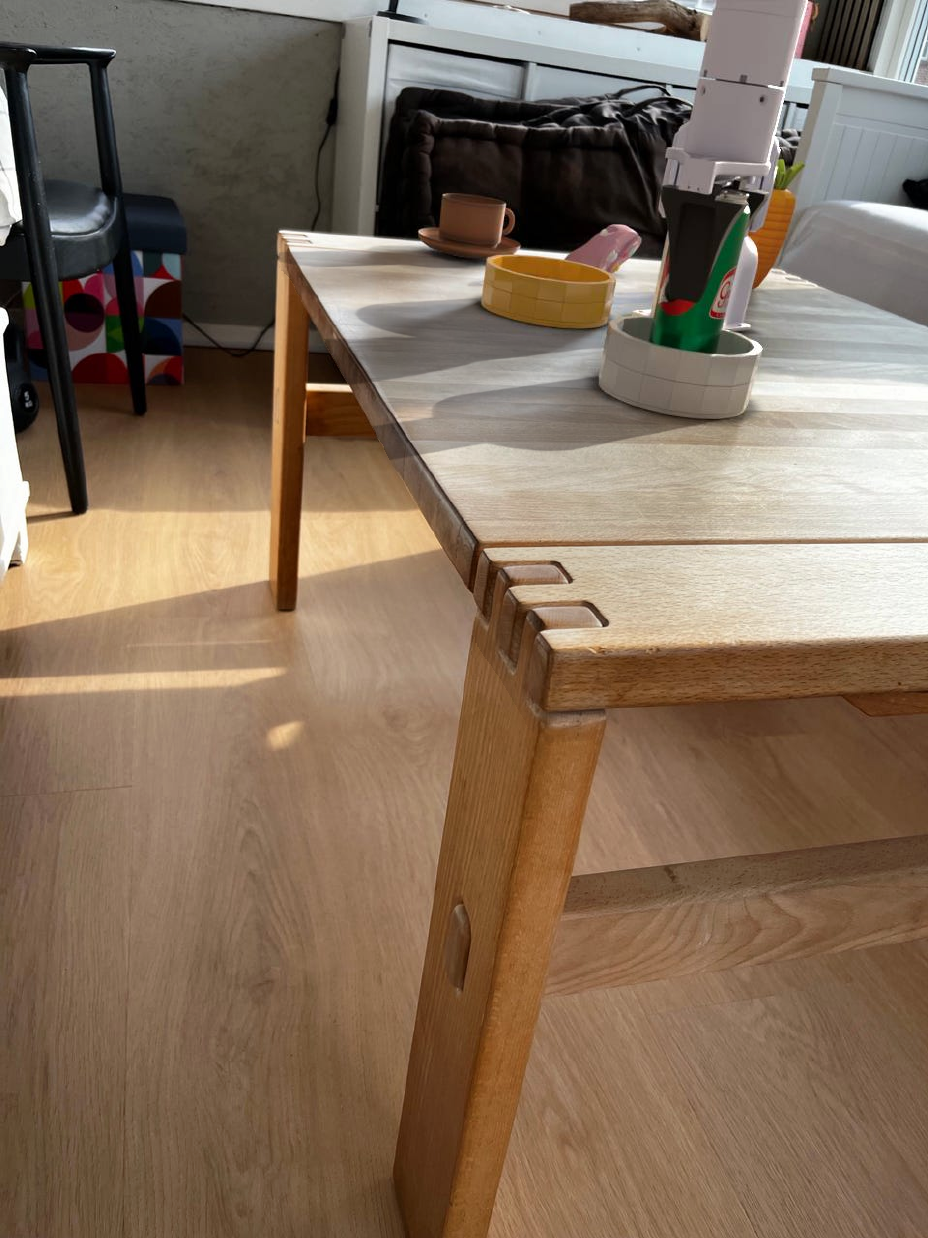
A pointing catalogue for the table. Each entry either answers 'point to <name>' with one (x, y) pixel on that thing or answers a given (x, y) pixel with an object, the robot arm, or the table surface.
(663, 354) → the pot
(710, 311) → the soda can
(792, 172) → the carrot
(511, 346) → the table surface
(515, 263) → the bowl
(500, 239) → the cup and saucer
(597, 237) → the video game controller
